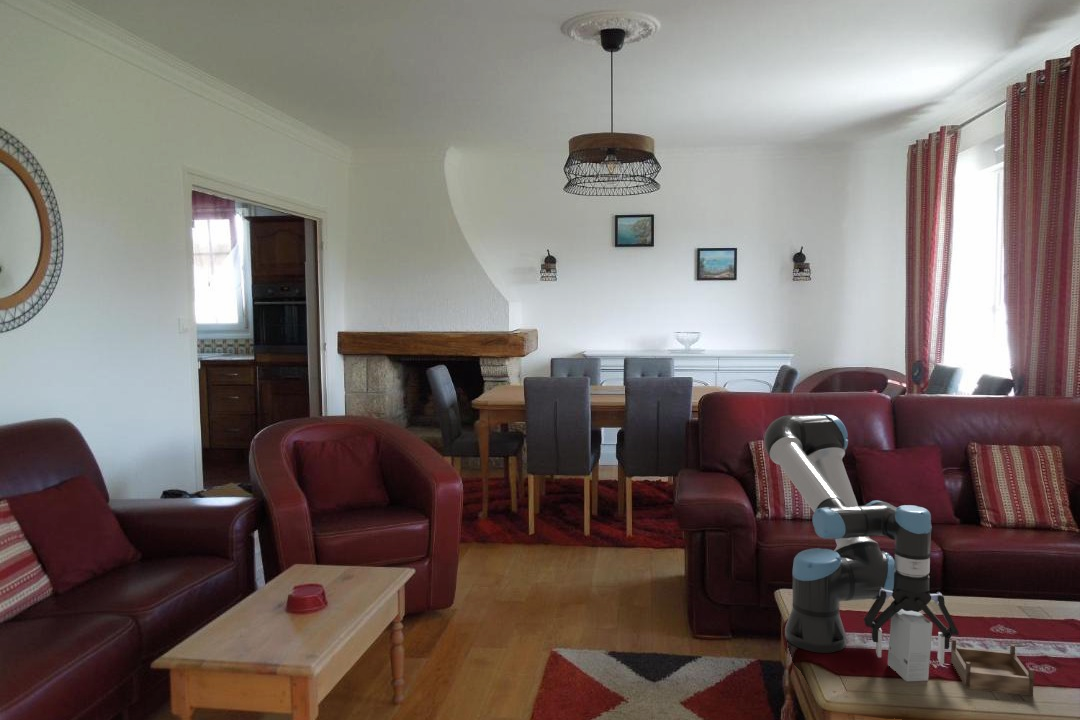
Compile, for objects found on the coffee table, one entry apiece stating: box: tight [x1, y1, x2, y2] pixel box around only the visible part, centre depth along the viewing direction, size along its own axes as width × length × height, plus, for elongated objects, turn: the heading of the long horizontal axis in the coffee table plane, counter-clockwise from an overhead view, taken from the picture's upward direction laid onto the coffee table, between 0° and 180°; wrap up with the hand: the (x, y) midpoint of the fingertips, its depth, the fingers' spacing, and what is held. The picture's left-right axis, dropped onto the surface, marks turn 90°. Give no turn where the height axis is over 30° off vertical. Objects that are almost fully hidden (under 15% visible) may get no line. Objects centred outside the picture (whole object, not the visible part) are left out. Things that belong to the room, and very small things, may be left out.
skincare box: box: [887, 609, 934, 682], centre depth 176 cm, size 8×6×15 cm
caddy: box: [950, 638, 1035, 697], centre depth 174 cm, size 14×13×6 cm
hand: (909, 658), depth 177 cm, fingers open, 13 cm apart
